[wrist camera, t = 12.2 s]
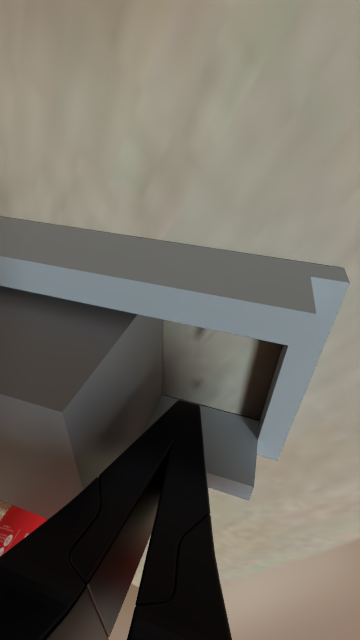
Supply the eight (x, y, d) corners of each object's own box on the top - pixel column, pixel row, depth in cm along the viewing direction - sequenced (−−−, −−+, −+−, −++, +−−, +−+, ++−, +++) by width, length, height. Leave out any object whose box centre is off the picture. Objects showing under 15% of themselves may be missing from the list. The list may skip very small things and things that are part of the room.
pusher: (163, 280, 11) (62, 412, 6) (161, 393, 14) (95, 537, 9) (42, 258, 12) (-130, 354, 7) (66, 368, 15) (-38, 485, 10)
